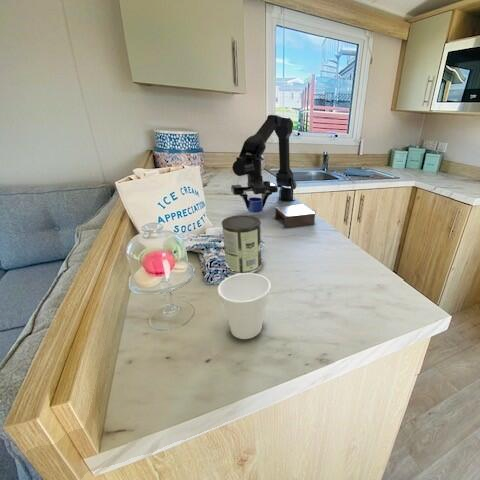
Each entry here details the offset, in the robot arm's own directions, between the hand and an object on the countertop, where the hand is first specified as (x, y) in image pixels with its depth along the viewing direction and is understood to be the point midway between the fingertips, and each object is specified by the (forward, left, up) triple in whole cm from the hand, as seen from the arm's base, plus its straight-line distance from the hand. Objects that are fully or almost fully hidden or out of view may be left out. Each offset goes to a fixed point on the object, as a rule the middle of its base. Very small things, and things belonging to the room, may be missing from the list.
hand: (255, 208), depth 120 cm
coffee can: (+16, +42, -3) cm, 45 cm away
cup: (+22, +68, -3) cm, 71 cm away
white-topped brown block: (-13, +13, -3) cm, 19 cm away
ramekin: (0, 0, -1) cm, 1 cm away
